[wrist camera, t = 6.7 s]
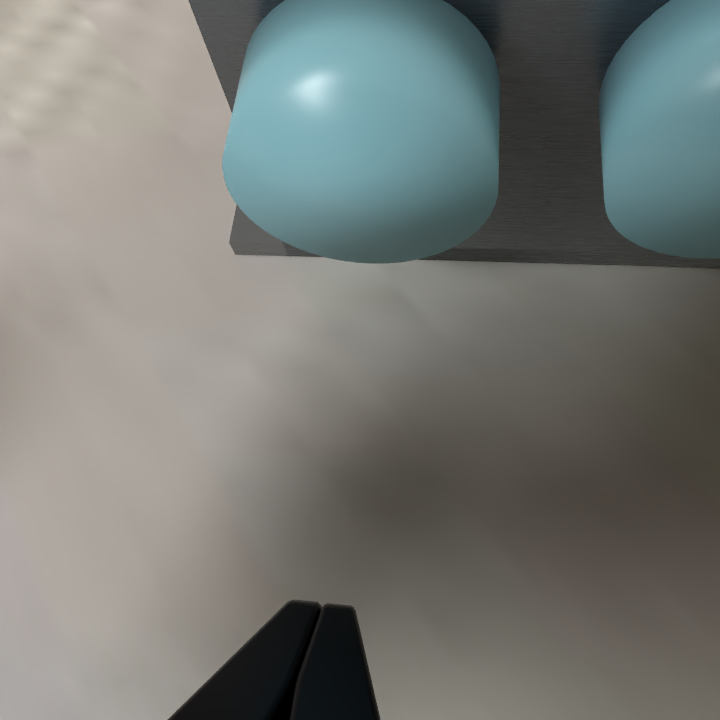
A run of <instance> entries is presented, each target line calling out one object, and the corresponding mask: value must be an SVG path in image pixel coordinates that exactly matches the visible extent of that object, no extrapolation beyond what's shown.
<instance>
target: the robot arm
mask: <svg viewBox="0 0 720 720" xmlns="http://www.w3.org/2000/svg"><path fill="white" fill-rule="evenodd" d="M168 720H380V716H379V711H378V707H377V703H376V698H375V694H374V689H373V685H372V681H371V676H370V672H369V667H368V663H367V659H366V654H365V650H364V646H363V641H362V637H361V632H360V628H359V624H358V619H357V615H356V611H355V609H354V607H352V606H348V605H339V604H330V603H327V604H325V605H323V607H322V606H321V605H320V604H319V603H318V602H311V601H301V600H291V601H289V602H287V603H286V604H285V605H284V606H283V607H282V608H281V609H280V610H279V611H278V612H277V613H276V614H275V615H274V616H273V617H272V618H271V619H270V620H269V621H268V622H267V623H266V624H265V625H264V626H263V627H262V628H261V629H260V630H259V631H258V632H257V633H256V634H255V635H254V636H253V637H252V638H251V639H250V640H249V641H247V642H246V643H245V644H244V645H243V646H242V647H241V648H240V649H239V650H238V651H237V652H236V653H235V654H234V655H233V656H232V657H231V658H230V659H229V660H228V661H227V662H226V663H225V664H224V665H223V666H222V667H221V668H220V669H219V670H218V671H217V672H216V673H215V674H214V675H213V676H212V677H211V678H210V679H209V680H208V681H207V682H206V683H205V684H204V685H203V686H202V687H201V688H200V689H199V690H197V691H196V692H195V693H194V694H193V695H192V696H191V697H190V698H189V699H188V700H187V701H186V702H185V703H184V704H183V705H182V706H181V707H180V708H179V709H178V710H177V711H176V712H175V713H174V714H173V715H172V716H171V717H170V718H169V719H168Z"/></svg>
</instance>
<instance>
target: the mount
mask: <svg viewBox="0 0 720 720" xmlns="http://www.w3.org/2000/svg"><path fill="white" fill-rule="evenodd" d="M283 1H284V0H189V3H190V5H191V8H192V11H193V13H194V16H195V18H196V21H197V24H198V26H199V29H200V31H201V34H202V36H203V39H204V42H205V44H206V47H207V49H208V52H209V55H210V57H211V60H212V62H213V65H214V67H215V70H216V73H217V75H218V78H219V80H220V83H221V86H222V88H223V91H224V93H225V96H226V98H227V101H228V104H229V106H230V109H231V111H232V112H233V108H234V103H235V98H236V94H237V89H238V85H239V80H240V76H241V71H242V66H243V62H244V58H245V54H246V50H247V46H248V44H249V41H250V39H251V37H252V35H253V33H254V31H255V30H256V28H257V27H258V25H259V24H260V22H261V21H262V20H263V19H264V18H265V17H266V16H267V15H268V14H269V13H270V12H271V10H272V9H274V8H275V7H276V6H278V5H279V4H280V3H282V2H283ZM443 1H445V2H446V3H448V4H450V5H451V6H453V7H454V8H455V9H457V10H458V11H459V12H461V13H462V14H463V15H464V16H466V17H467V18H468V19H469V20H470V21H471V22H472V23H473V25H474V26H475V27H476V28H477V29H478V30H479V31H480V33H481V34H482V36H483V37H484V38H485V40H486V41H487V43H488V45H489V47H490V49H491V51H492V53H493V55H494V57H495V60H496V64H497V67H498V71H499V78H500V126H499V184H498V196H497V200H496V204H495V206H494V209H493V211H492V213H491V215H490V216H489V218H488V219H487V220H486V222H485V223H484V224H483V226H482V227H481V228H480V229H479V230H478V231H477V232H475V233H474V234H473V235H472V236H470V237H469V238H468V239H466V240H465V241H463V242H462V243H460V244H458V245H456V246H455V247H453V248H450V249H448V250H446V251H444V252H441V253H438V254H435V255H432V256H429V257H425V258H421V259H418V260H454V261H490V262H526V263H562V264H598V265H633V266H669V267H705V268H720V258H687V257H679V256H672V255H667V254H663V253H658V252H655V251H652V250H649V249H646V248H643V247H641V246H639V245H637V244H635V243H633V242H631V241H630V240H628V239H627V238H625V237H624V236H623V235H621V234H620V233H619V232H618V231H617V230H616V229H615V228H614V226H613V225H612V223H611V222H610V220H609V218H608V216H607V213H606V209H605V203H604V189H603V172H602V155H601V139H600V122H599V94H600V90H601V85H602V81H603V79H604V76H605V74H606V71H607V69H608V67H609V65H610V63H611V62H612V60H613V58H614V56H615V55H616V53H617V52H618V51H619V49H620V48H621V46H622V45H623V44H624V42H625V41H626V40H627V39H628V38H629V36H630V35H631V34H632V33H633V32H634V31H635V30H636V29H637V28H638V27H639V26H640V25H641V24H642V23H643V22H644V21H645V20H646V19H648V18H649V17H650V16H651V15H652V14H653V13H654V12H655V11H657V10H658V9H659V8H661V7H662V6H663V5H665V4H666V3H668V2H669V1H670V0H443ZM229 243H230V245H231V247H232V249H233V251H234V253H235V254H238V255H274V256H310V257H323V256H319V255H316V254H312V253H309V252H307V251H304V250H301V249H298V248H296V247H294V246H291V245H289V244H287V243H285V242H283V241H281V240H279V239H277V238H276V237H274V236H272V235H271V234H269V233H268V232H266V231H265V230H263V229H262V228H260V227H259V226H258V225H257V224H255V223H254V222H253V221H252V220H251V219H250V218H249V217H248V216H247V215H246V214H245V213H244V212H243V211H242V210H241V209H240V208H239V206H238V205H237V206H236V211H235V216H234V221H233V226H232V231H231V236H230V241H229Z"/></svg>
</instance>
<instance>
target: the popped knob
mask: <svg viewBox="0 0 720 720" xmlns="http://www.w3.org/2000/svg"><path fill="white" fill-rule="evenodd" d="M499 126H500V78H499V71H498V67H497V64H496V60H495V57H494V55H493V53H492V51H491V49H490V47H489V45H488V43H487V41H486V40H485V38H484V37H483V36H482V34H481V33H480V31H479V30H478V29H477V28H476V27H475V26H474V25H473V23H472V22H471V21H470V20H469V19H468V18H467V17H466V16H464V15H463V14H462V13H461V12H459V11H458V10H457V9H455V8H454V7H453V6H451V5H450V4H448V3H446V2H445V1H443V0H284V1H283V2H282V3H280V4H279V5H278V6H276V7H275V8H274V9H272V10H271V12H270V13H269V14H268V15H267V16H266V17H265V18H264V19H263V20H262V21H261V22H260V24H259V25H258V27H257V28H256V30H255V31H254V33H253V35H252V37H251V39H250V41H249V44H248V46H247V50H246V54H245V58H244V62H243V66H242V71H241V76H240V80H239V85H238V89H237V94H236V98H235V103H234V108H233V112H232V117H231V121H230V126H229V130H228V135H227V139H226V144H225V149H224V153H223V166H222V168H223V174H224V180H225V182H226V185H227V188H228V190H229V192H230V194H231V196H232V198H233V199H234V201H235V202H236V204H237V205H238V206H239V208H240V209H241V210H242V211H243V212H244V213H245V214H246V215H247V216H248V217H249V218H250V219H251V220H252V221H253V222H254V223H255V224H257V225H258V226H259V227H260V228H262V229H263V230H265V231H266V232H268V233H269V234H271V235H272V236H274V237H276V238H277V239H279V240H281V241H283V242H285V243H287V244H289V245H291V246H294V247H296V248H298V249H301V250H304V251H307V252H309V253H312V254H316V255H319V256H323V257H327V258H332V259H337V260H342V261H349V262H357V263H396V262H405V261H411V260H417V259H421V258H425V257H429V256H432V255H435V254H438V253H441V252H444V251H446V250H448V249H450V248H453V247H455V246H456V245H458V244H460V243H462V242H463V241H465V240H466V239H468V238H469V237H470V236H472V235H473V234H474V233H475V232H477V231H478V230H479V229H480V228H481V227H482V226H483V224H484V223H485V222H486V220H487V219H488V218H489V216H490V215H491V213H492V211H493V209H494V206H495V204H496V200H497V196H498V184H499Z"/></svg>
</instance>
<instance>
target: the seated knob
mask: <svg viewBox="0 0 720 720" xmlns="http://www.w3.org/2000/svg"><path fill="white" fill-rule="evenodd" d="M599 122H600V139H601V155H602V172H603V189H604V203H605V209H606V213H607V216H608V218H609V220H610V222H611V223H612V225H613V226H614V228H615V229H616V230H617V231H618V232H619V233H620V234H621V235H623V236H624V237H625V238H627V239H628V240H630V241H631V242H633V243H635V244H637V245H639V246H641V247H643V248H646V249H649V250H652V251H655V252H658V253H663V254H667V255H672V256H679V257H687V258H720V0H670V1H669V2H668V3H666V4H665V5H663V6H662V7H661V8H659V9H658V10H657V11H655V12H654V13H653V14H652V15H651V16H650V17H649V18H648V19H646V20H645V21H644V22H643V23H642V24H641V25H640V26H639V27H638V28H637V29H636V30H635V31H634V32H633V33H632V34H631V35H630V36H629V38H628V39H627V40H626V41H625V42H624V44H623V45H622V46H621V48H620V49H619V51H618V52H617V53H616V55H615V56H614V58H613V60H612V62H611V63H610V65H609V67H608V69H607V71H606V74H605V76H604V79H603V81H602V85H601V90H600V94H599Z"/></svg>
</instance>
